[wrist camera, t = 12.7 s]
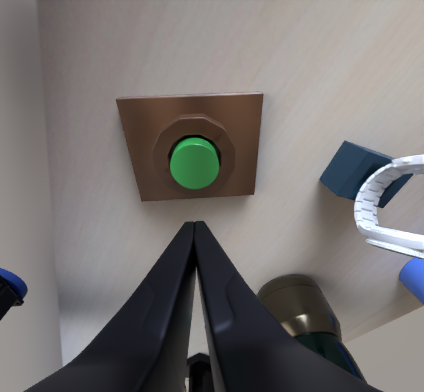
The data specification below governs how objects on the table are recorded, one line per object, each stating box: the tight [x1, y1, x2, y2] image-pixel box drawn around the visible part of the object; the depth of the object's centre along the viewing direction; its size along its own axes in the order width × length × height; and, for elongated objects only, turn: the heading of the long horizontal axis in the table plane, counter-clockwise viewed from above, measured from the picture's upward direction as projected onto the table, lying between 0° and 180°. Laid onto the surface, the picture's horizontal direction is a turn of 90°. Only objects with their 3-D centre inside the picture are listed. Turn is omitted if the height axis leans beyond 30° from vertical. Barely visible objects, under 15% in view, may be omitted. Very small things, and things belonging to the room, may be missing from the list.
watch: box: [319, 141, 424, 260], centre depth 16 cm, size 6×8×11 cm
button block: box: [116, 92, 263, 201], centre depth 17 cm, size 11×9×3 cm
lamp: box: [257, 275, 367, 383], centre depth 22 cm, size 10×10×22 cm
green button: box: [170, 137, 219, 189], centre depth 16 cm, size 4×4×2 cm
